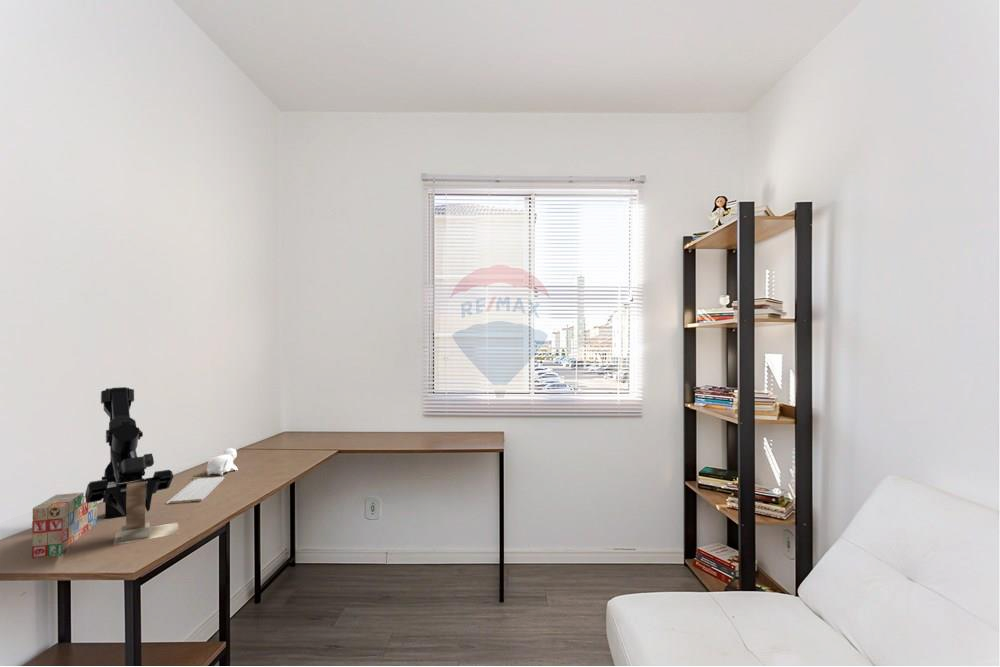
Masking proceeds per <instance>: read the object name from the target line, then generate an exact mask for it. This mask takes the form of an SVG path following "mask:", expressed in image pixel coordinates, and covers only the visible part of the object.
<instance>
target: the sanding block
mask: <svg viewBox="0 0 1000 667" xmlns="http://www.w3.org/2000/svg"><path fill="white" fill-rule="evenodd" d="M145 483H146V481H143V482H135V483H127V493H126V513H127V514H126V516H125V525H122V526H121V529H120V530H121V541H127V540H133V539H139V538H145V537H149V527H151V526H150V521H146V507H145Z"/></svg>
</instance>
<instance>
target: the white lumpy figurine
mask: <svg viewBox="0 0 1000 667" xmlns="http://www.w3.org/2000/svg"><path fill="white" fill-rule="evenodd" d="M237 456H238V452H237V450H236V449H235V448H234V447H233V448H232V447H229V448H225V449H224V450H223V452H222V454H220V455H217V456H215V457H212V458H210V459H209V460H208V462H207V466H206V472H207V474H208V475H209V474H210V476H211V475H219V476H220V475H223V474H224V473H226V472H230V471H231V470H232V471H233V470H235V472H237V471H238V470H239V469H238V467H237V465H236V464H234V460H235V459H236V458H237ZM236 470H237V471H236ZM207 474H206V475H207ZM208 475H207V476H208ZM223 476H224V475H223Z"/></svg>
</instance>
